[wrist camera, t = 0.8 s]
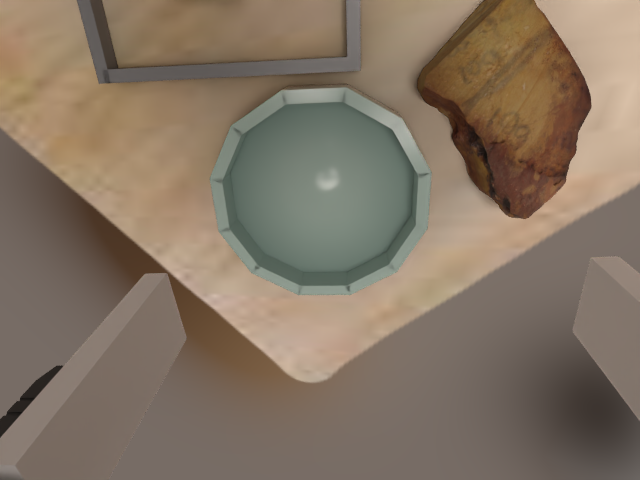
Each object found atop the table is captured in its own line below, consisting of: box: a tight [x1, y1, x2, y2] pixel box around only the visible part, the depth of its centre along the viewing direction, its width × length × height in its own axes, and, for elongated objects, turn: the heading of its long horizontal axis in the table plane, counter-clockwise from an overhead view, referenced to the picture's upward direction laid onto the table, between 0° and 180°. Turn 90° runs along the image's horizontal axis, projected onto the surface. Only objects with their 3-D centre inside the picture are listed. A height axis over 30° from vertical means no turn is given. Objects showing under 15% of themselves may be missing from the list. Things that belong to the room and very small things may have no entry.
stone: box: [417, 0, 591, 219], centre depth 30 cm, size 15×9×5 cm, turn 36°
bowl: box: [210, 84, 432, 295], centre depth 35 cm, size 18×18×4 cm
